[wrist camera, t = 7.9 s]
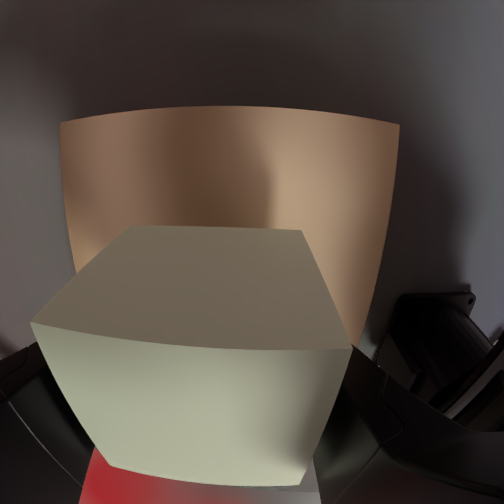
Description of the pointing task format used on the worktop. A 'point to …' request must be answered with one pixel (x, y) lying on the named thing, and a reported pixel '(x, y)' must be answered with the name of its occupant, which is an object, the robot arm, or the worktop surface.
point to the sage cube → (199, 353)
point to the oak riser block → (239, 183)
